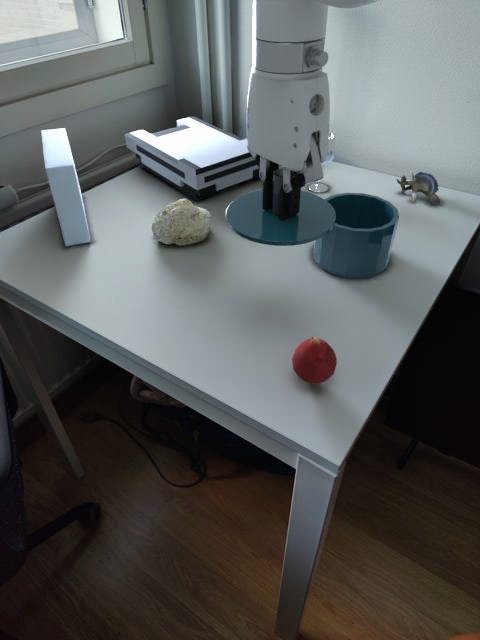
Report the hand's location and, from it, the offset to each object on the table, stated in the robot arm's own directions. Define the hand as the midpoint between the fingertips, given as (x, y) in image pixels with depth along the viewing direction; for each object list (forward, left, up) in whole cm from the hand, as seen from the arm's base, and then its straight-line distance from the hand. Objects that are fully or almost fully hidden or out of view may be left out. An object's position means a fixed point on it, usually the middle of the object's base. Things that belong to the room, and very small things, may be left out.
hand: (280, 210), depth 61 cm
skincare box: (+50, +12, -19) cm, 55 cm away
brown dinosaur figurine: (+10, -51, -19) cm, 55 cm away
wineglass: (+28, -38, -19) cm, 51 cm away
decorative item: (+30, -2, -19) cm, 35 cm away
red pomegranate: (-13, +5, -19) cm, 24 cm away
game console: (+55, -22, -19) cm, 62 cm away
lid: (0, 0, -1) cm, 1 cm away
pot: (+4, -22, -19) cm, 29 cm away
